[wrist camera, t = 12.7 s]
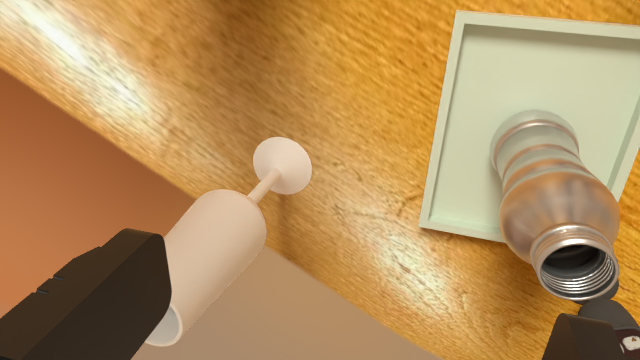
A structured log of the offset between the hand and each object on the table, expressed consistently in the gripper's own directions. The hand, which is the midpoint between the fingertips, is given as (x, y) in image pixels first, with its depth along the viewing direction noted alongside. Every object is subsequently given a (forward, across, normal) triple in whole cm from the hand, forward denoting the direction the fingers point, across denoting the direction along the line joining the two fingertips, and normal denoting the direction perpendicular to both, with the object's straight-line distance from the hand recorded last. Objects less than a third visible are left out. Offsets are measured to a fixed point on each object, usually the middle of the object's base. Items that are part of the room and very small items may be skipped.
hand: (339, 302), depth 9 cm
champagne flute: (+35, +13, +15) cm, 40 cm away
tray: (+35, -10, +8) cm, 37 cm away
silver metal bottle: (+34, -10, +8) cm, 37 cm away
